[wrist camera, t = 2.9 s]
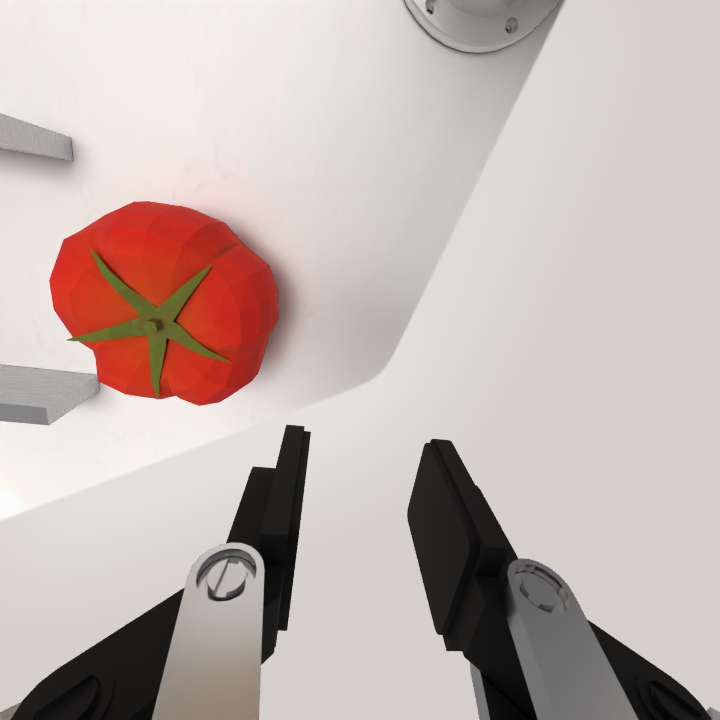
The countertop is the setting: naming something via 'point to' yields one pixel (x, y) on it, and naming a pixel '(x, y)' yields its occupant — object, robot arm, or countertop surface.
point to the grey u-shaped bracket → (31, 385)
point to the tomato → (166, 302)
